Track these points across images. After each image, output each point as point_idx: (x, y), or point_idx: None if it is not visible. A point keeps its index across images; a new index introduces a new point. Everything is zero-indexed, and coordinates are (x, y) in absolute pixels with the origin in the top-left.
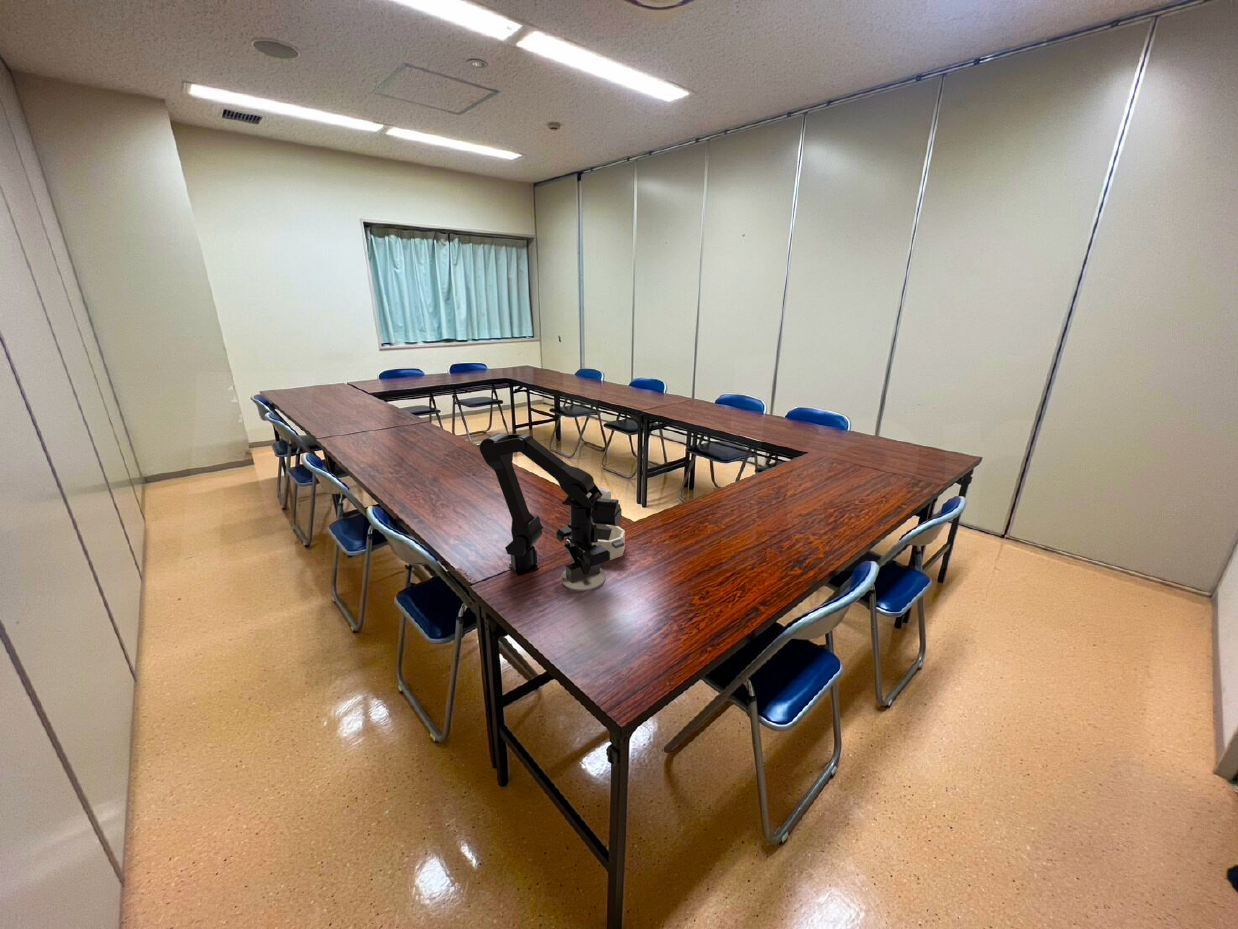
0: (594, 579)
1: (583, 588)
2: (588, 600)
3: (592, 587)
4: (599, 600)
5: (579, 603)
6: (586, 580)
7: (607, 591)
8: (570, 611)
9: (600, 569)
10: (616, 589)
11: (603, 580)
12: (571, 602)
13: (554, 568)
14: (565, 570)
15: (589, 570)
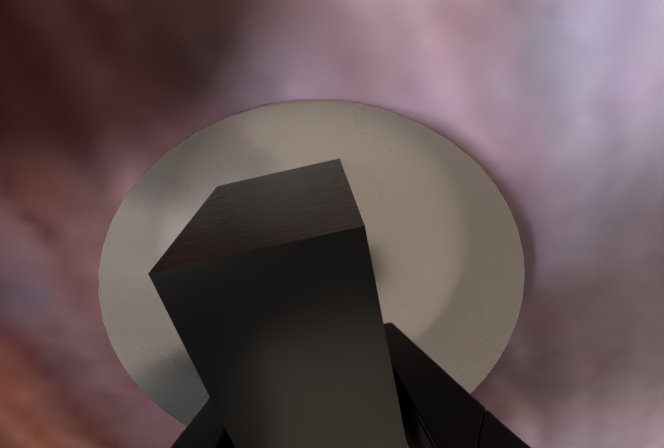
0: (431, 251)
1: (494, 358)
2: (604, 340)
3: (519, 294)
4: (661, 277)
5: (591, 392)
6: (408, 316)
7: (611, 180)
8: (619, 442)
9: (274, 128)
10: (646, 84)
11: (482, 170)
12: (550, 425)
13: (102, 444)
14: (185, 418)
15: (421, 350)
